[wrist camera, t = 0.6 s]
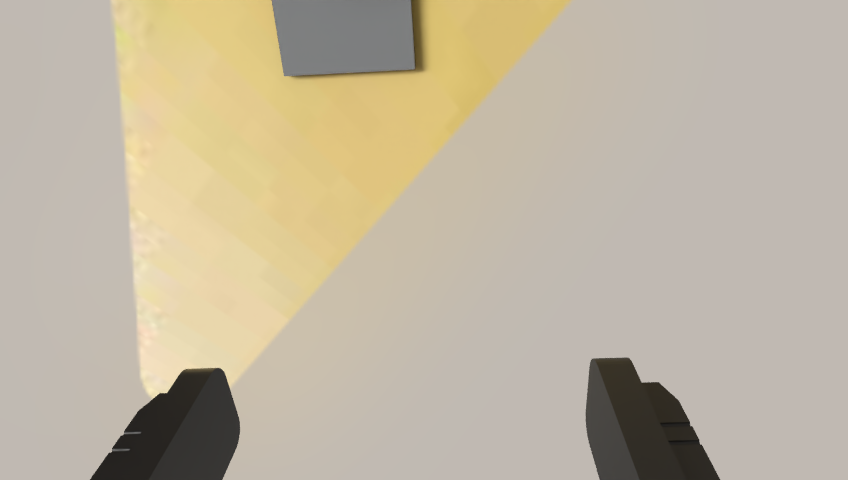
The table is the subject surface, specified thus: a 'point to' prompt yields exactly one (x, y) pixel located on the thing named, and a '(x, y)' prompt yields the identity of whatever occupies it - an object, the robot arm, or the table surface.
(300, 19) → the coaster
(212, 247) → the table surface
